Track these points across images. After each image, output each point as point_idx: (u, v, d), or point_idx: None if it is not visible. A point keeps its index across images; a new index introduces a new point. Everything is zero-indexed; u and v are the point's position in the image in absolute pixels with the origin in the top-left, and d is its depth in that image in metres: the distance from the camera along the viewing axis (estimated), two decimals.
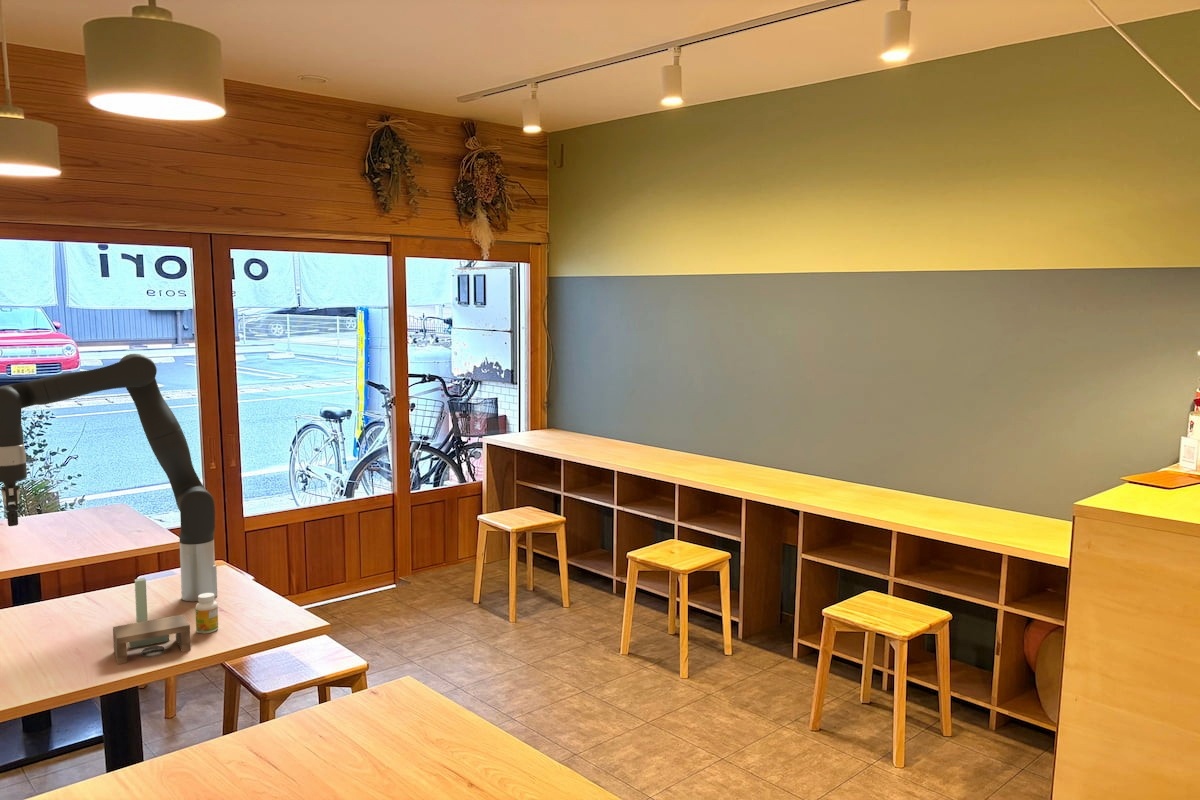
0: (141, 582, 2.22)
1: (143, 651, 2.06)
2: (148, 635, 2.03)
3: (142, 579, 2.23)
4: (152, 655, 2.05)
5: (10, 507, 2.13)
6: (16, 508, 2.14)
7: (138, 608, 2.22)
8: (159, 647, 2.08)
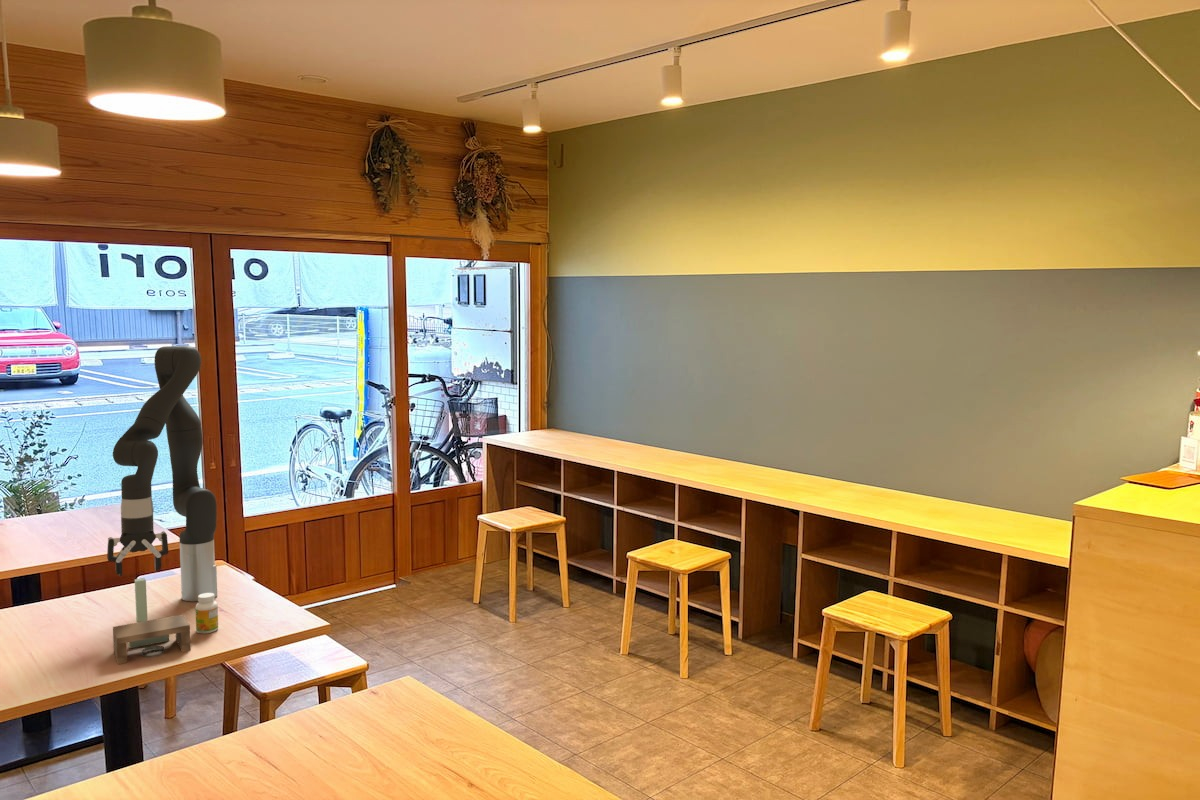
0: (141, 582, 2.22)
1: (143, 651, 2.06)
2: (148, 635, 2.03)
3: (142, 579, 2.23)
4: (152, 655, 2.05)
5: None
6: None
7: (138, 608, 2.22)
8: (159, 647, 2.08)
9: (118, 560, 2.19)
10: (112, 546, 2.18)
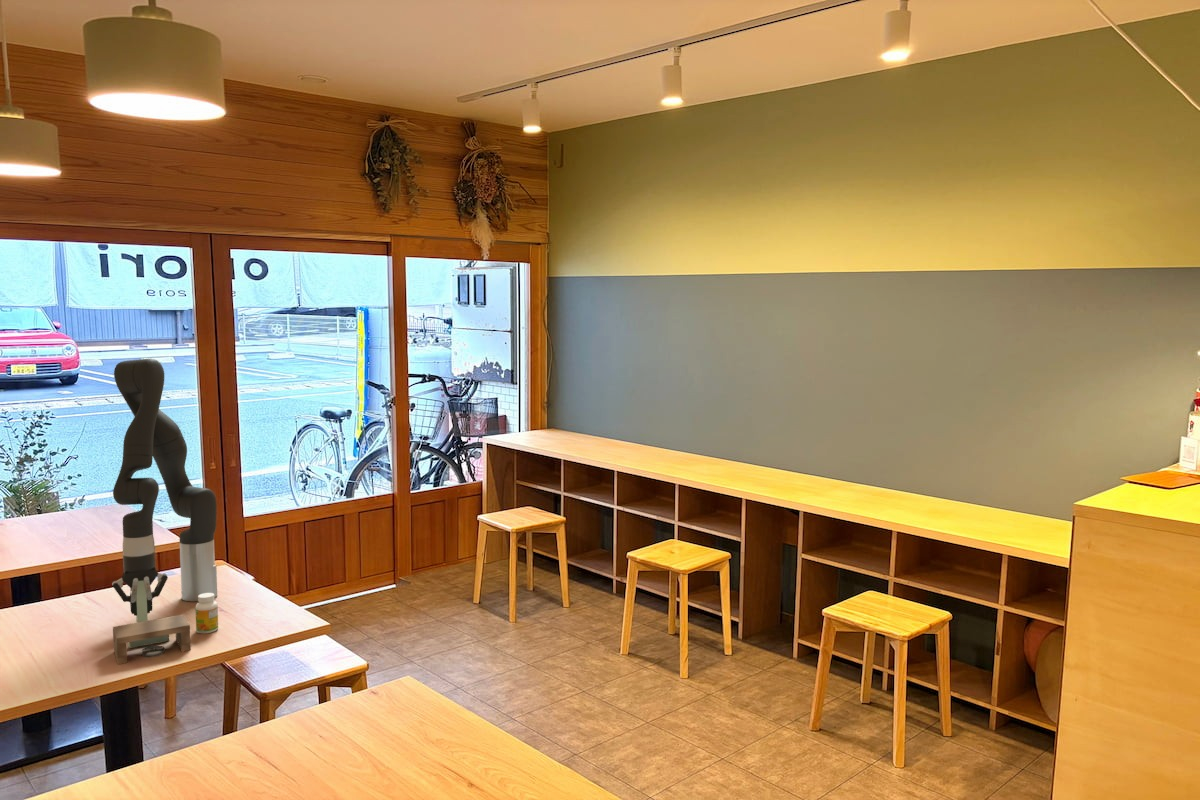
0: (141, 582, 2.22)
1: (144, 651, 2.05)
2: (148, 635, 2.03)
3: None
4: (155, 653, 2.05)
5: None
6: None
7: (138, 608, 2.22)
8: (158, 646, 2.09)
9: (133, 600, 2.21)
10: (119, 588, 2.19)
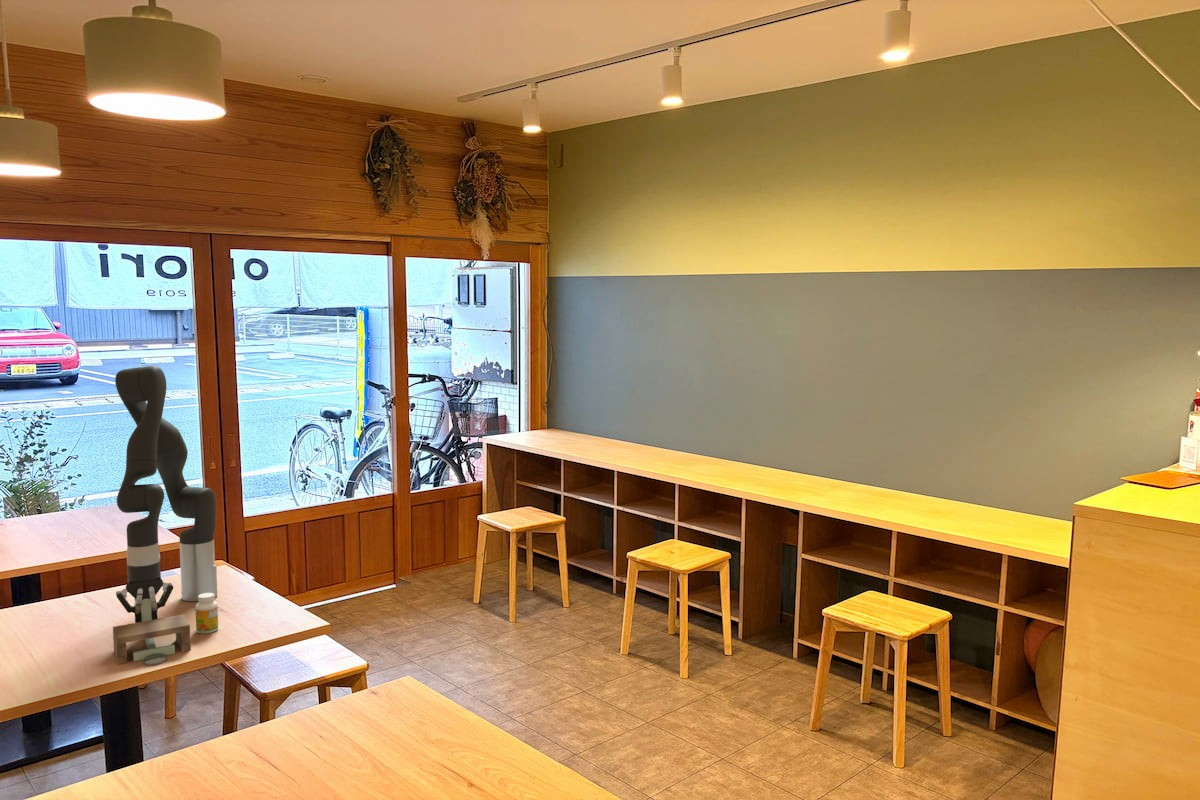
0: None
1: (146, 660, 2.00)
2: (148, 635, 2.03)
3: None
4: (160, 662, 2.01)
5: None
6: None
7: (143, 619, 2.15)
8: (158, 654, 2.04)
9: (137, 611, 2.13)
10: (123, 599, 2.11)
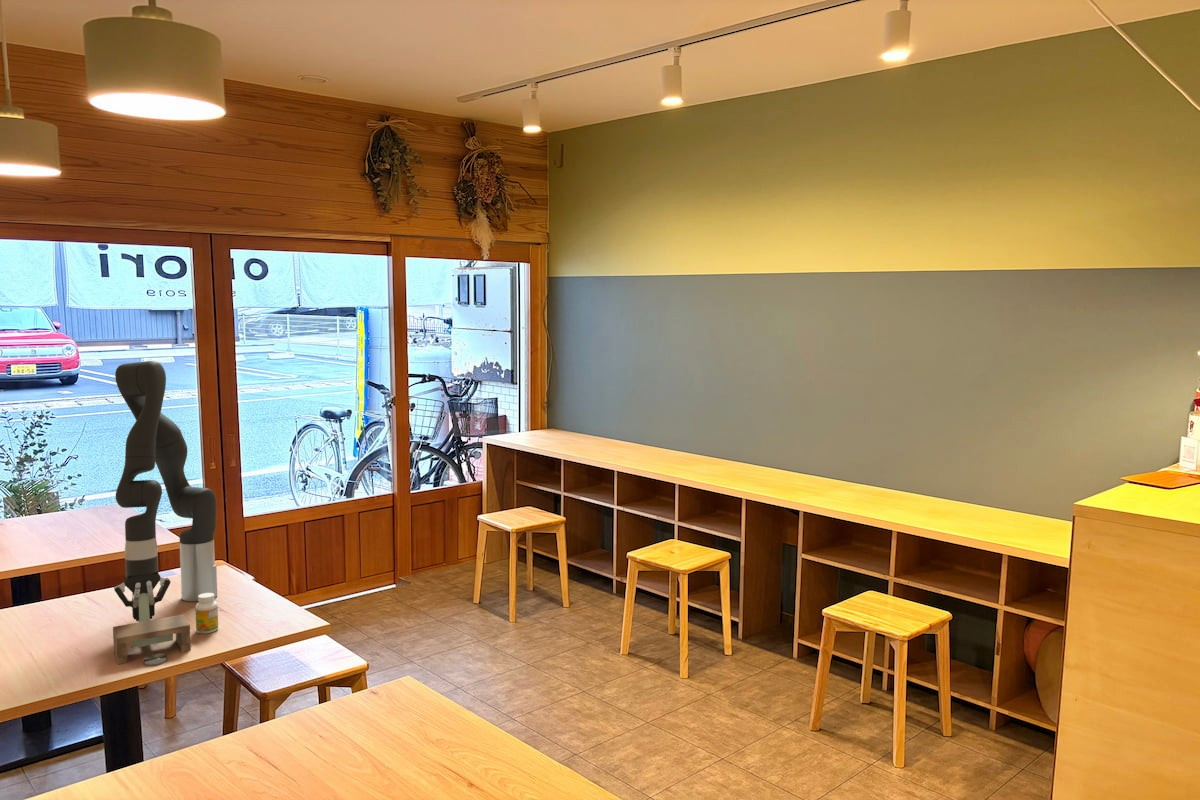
0: None
1: (147, 661, 2.00)
2: (148, 635, 2.03)
3: None
4: (160, 662, 2.01)
5: None
6: None
7: (140, 613, 2.18)
8: (158, 655, 2.04)
9: (135, 605, 2.17)
10: (121, 593, 2.15)
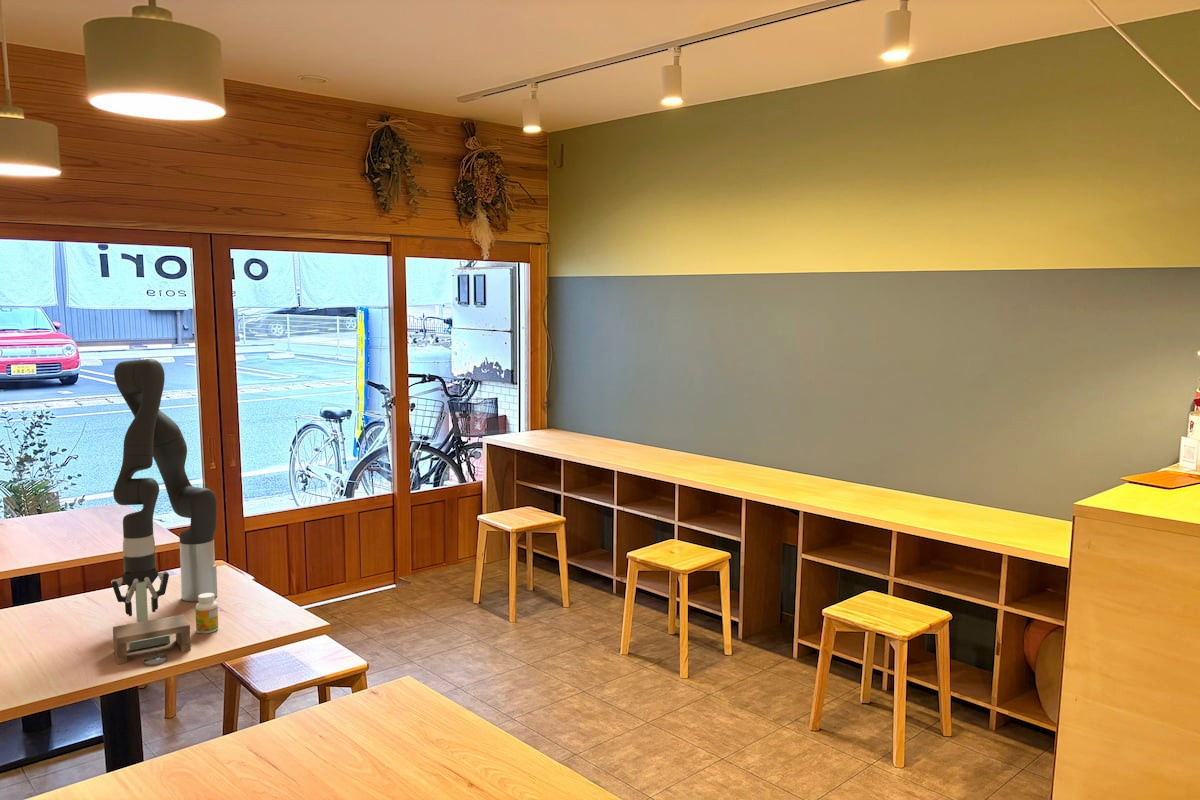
0: (141, 584, 2.21)
1: (147, 661, 2.00)
2: (148, 635, 2.03)
3: (142, 581, 2.22)
4: (160, 662, 2.01)
5: None
6: None
7: (138, 610, 2.21)
8: (158, 655, 2.04)
9: (127, 600, 2.20)
10: (117, 587, 2.19)
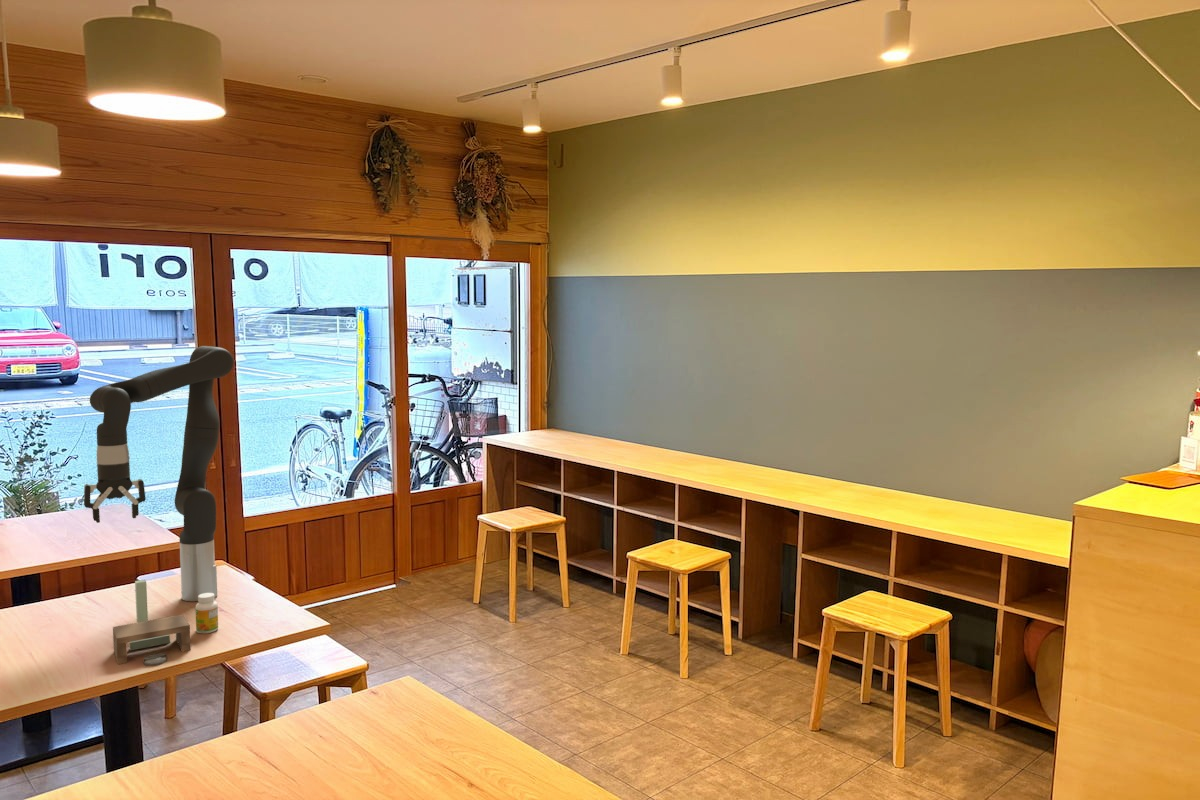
0: (141, 584, 2.21)
1: (148, 660, 2.00)
2: (148, 635, 2.03)
3: (142, 581, 2.22)
4: (162, 660, 2.01)
5: None
6: None
7: (138, 610, 2.21)
8: (156, 655, 2.04)
9: (95, 506, 2.20)
10: (89, 492, 2.19)
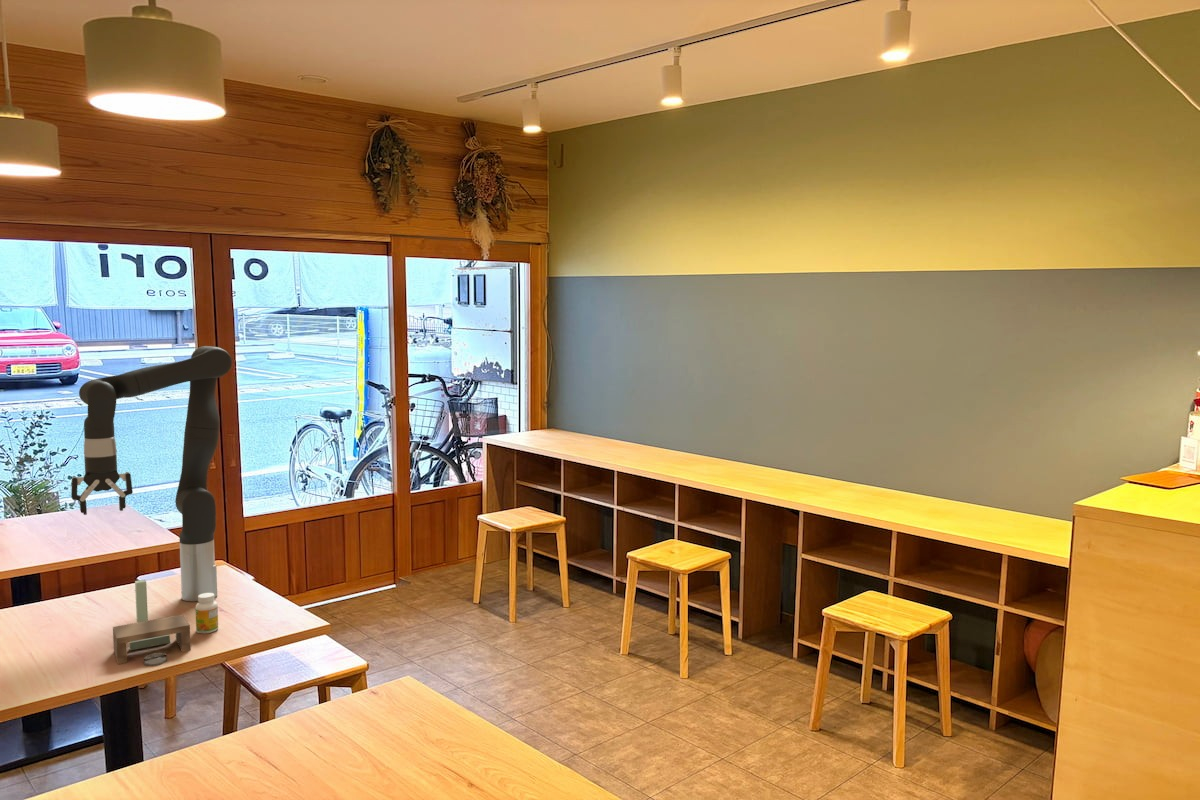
0: (141, 584, 2.21)
1: (152, 661, 2.00)
2: (148, 635, 2.03)
3: (142, 581, 2.22)
4: (165, 659, 2.02)
5: (131, 490, 2.30)
6: None
7: (138, 610, 2.21)
8: (153, 654, 2.03)
9: (82, 499, 2.23)
10: (76, 485, 2.21)
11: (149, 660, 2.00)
